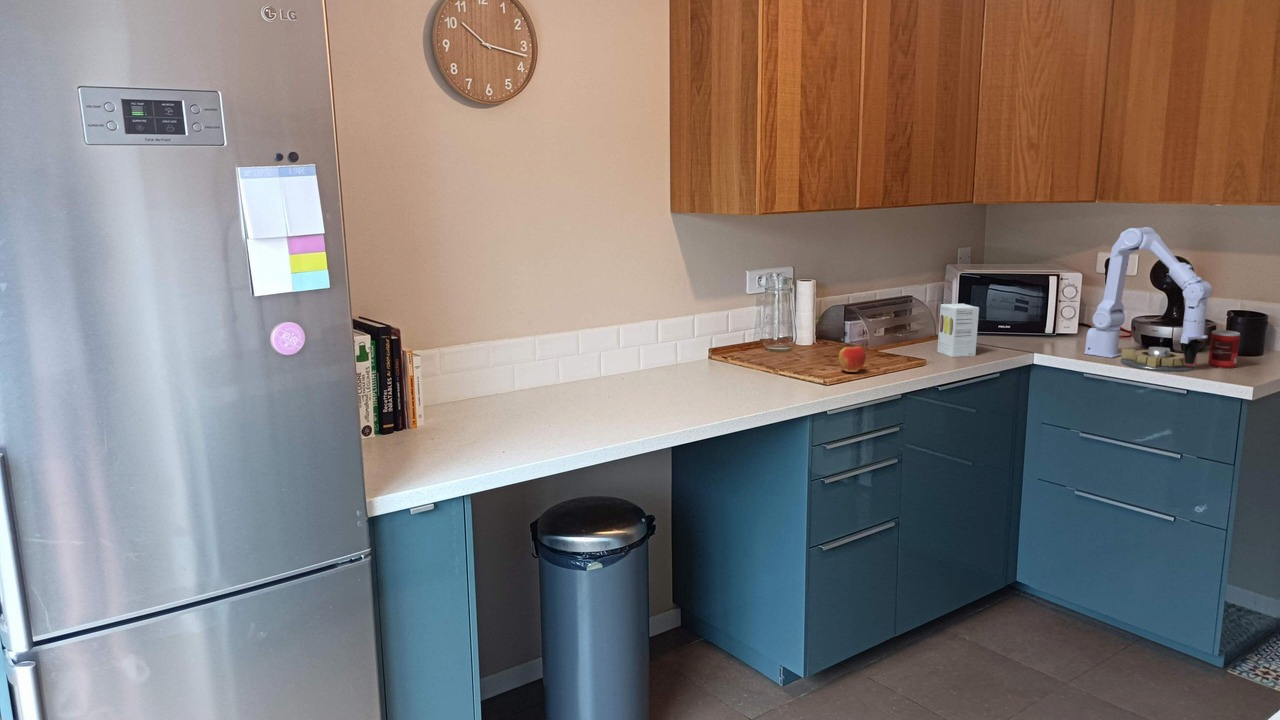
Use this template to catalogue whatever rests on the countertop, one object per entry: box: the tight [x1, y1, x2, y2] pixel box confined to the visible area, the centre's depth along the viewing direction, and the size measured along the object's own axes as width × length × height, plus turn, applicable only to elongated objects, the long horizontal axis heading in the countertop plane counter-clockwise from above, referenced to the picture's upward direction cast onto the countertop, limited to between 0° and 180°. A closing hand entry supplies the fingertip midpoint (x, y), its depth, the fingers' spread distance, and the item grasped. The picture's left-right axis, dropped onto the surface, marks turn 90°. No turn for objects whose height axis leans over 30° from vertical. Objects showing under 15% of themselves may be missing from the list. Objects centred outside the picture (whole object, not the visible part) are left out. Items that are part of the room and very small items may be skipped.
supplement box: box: [937, 303, 980, 358], centre depth 310 cm, size 10×9×17 cm
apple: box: [838, 340, 866, 370], centre depth 282 cm, size 8×8×10 cm
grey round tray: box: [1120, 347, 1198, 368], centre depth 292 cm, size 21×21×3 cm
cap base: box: [1120, 346, 1197, 373], centre depth 293 cm, size 21×23×5 cm
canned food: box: [1207, 329, 1241, 369], centre depth 289 cm, size 8×8×11 cm
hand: (1189, 363), depth 286 cm, fingers closed, pressing on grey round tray
